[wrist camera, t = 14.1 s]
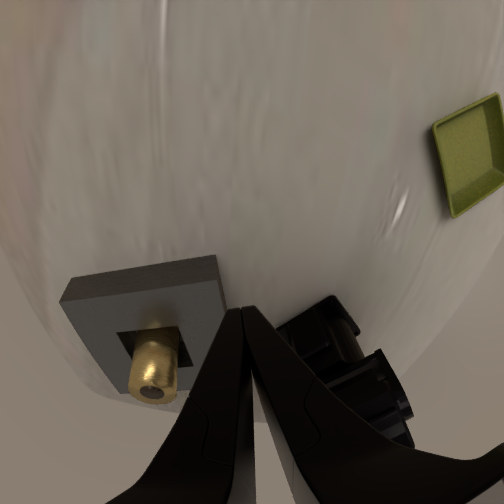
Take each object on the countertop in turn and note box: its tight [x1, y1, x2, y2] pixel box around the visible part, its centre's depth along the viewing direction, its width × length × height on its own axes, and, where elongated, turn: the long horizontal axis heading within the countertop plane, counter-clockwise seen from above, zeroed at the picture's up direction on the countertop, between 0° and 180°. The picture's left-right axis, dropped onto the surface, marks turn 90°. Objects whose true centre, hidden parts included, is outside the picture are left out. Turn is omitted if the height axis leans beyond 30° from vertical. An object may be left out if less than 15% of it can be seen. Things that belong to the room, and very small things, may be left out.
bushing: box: [128, 325, 179, 404], centre depth 22 cm, size 4×4×7 cm
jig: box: [59, 255, 227, 394], centre depth 24 cm, size 12×12×3 cm
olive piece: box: [432, 92, 504, 218], centre depth 19 cm, size 9×9×2 cm
